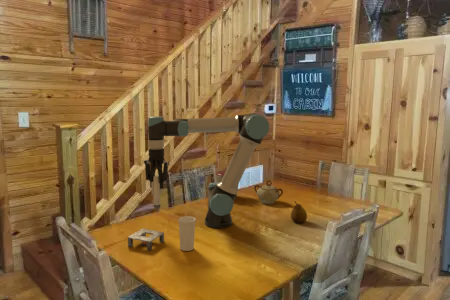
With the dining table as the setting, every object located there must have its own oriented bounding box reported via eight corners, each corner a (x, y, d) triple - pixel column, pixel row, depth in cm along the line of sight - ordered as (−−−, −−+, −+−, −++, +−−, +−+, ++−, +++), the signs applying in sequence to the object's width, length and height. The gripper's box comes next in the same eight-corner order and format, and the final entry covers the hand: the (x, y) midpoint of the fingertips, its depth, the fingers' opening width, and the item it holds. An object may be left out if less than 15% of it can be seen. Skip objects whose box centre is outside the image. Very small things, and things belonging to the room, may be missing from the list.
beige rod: (161, 206, 186) (161, 175, 184) (158, 208, 183) (157, 176, 181) (156, 205, 187) (155, 175, 185) (152, 207, 184) (152, 176, 182)
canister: (240, 201, 245) (241, 170, 242) (213, 200, 246) (213, 170, 242) (239, 194, 263) (240, 165, 260) (214, 193, 263) (214, 164, 260)
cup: (188, 254, 164) (188, 223, 161) (174, 249, 168) (174, 219, 166) (199, 247, 170) (199, 218, 168) (185, 243, 175) (185, 215, 172)
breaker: (151, 242, 175) (151, 239, 174) (147, 245, 171) (147, 241, 171) (145, 241, 176) (145, 237, 176) (140, 243, 173) (140, 240, 172)
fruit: (309, 221, 209) (310, 201, 207) (300, 225, 202) (302, 204, 200) (296, 218, 215) (297, 198, 213) (287, 221, 208) (288, 201, 206)
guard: (164, 241, 177) (164, 232, 176) (150, 251, 166) (149, 241, 165) (143, 237, 181) (142, 228, 181) (128, 246, 170) (127, 236, 170)
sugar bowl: (285, 201, 247) (286, 180, 245) (278, 207, 234) (279, 184, 232) (257, 197, 255) (258, 176, 253) (249, 203, 242) (250, 181, 240)
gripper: (174, 148, 181) (174, 194, 185) (146, 146, 187) (147, 190, 190) (166, 150, 174) (167, 198, 178) (137, 148, 180) (139, 194, 184)
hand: (156, 194), depth 184 cm, fingers closed on beige rod, 3 cm apart
